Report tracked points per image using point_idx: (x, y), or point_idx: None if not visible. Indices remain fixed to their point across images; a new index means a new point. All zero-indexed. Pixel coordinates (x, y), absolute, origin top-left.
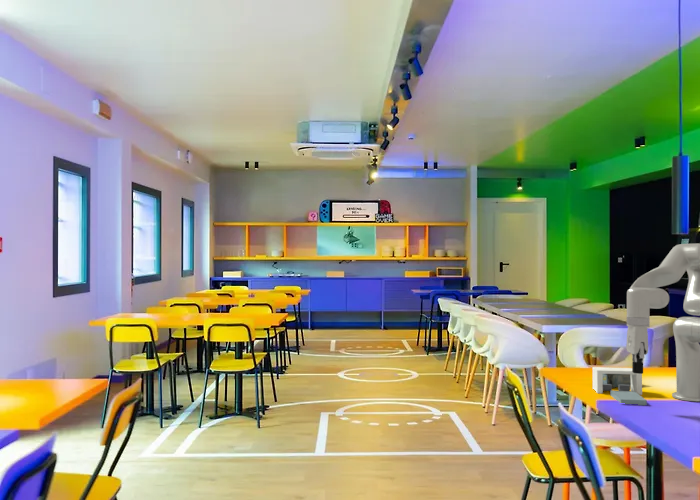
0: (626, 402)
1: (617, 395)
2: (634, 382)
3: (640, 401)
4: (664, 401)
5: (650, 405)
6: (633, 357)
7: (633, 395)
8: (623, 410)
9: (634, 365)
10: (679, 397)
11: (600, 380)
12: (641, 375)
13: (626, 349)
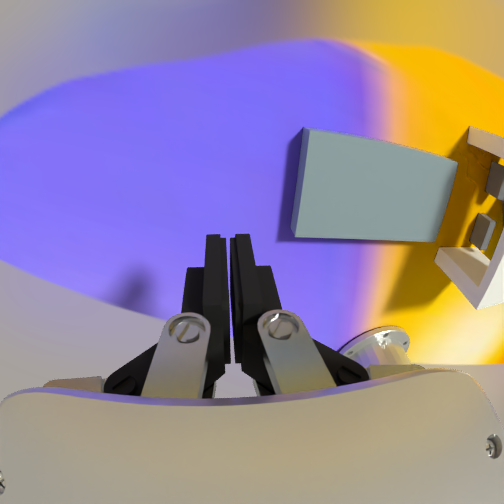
0: (302, 152)
1: (385, 148)
2: (473, 266)
3: (296, 211)
4: (349, 297)
5: (292, 240)
6: (265, 356)
7: (382, 215)
8: (181, 104)
9: (205, 283)
10: (363, 338)
11: (501, 149)
12: (469, 299)
13: (463, 378)
